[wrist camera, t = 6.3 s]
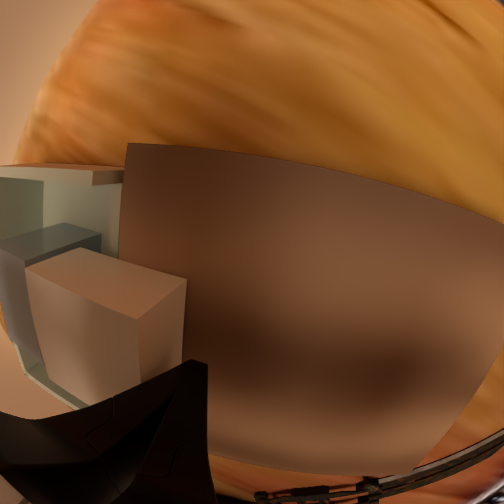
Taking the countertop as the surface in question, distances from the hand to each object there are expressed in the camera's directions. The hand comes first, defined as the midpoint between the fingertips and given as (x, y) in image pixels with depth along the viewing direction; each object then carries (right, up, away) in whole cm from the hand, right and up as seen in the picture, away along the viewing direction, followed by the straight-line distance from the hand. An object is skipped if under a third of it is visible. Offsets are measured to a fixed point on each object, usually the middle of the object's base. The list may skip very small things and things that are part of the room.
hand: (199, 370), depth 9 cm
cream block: (-3, +1, +2) cm, 4 cm away
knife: (+14, -14, +6) cm, 21 cm away
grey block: (-6, +2, +2) cm, 7 cm away
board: (+5, 0, +4) cm, 6 cm away
